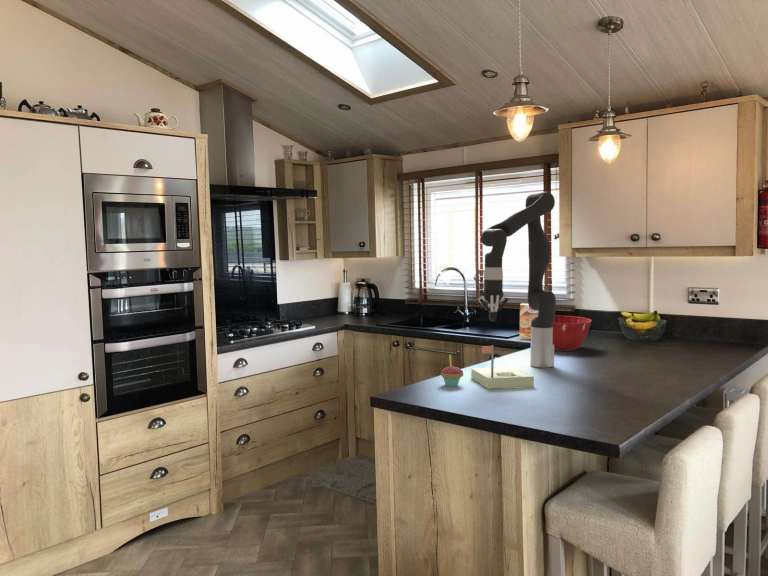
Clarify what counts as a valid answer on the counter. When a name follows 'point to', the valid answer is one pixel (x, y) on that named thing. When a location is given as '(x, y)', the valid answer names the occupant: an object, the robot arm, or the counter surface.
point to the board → (493, 380)
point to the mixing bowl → (569, 332)
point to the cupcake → (451, 374)
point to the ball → (505, 374)
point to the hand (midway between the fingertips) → (492, 320)
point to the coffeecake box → (526, 320)
